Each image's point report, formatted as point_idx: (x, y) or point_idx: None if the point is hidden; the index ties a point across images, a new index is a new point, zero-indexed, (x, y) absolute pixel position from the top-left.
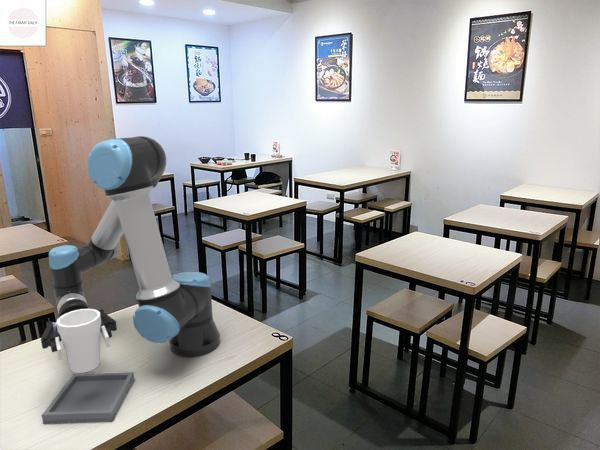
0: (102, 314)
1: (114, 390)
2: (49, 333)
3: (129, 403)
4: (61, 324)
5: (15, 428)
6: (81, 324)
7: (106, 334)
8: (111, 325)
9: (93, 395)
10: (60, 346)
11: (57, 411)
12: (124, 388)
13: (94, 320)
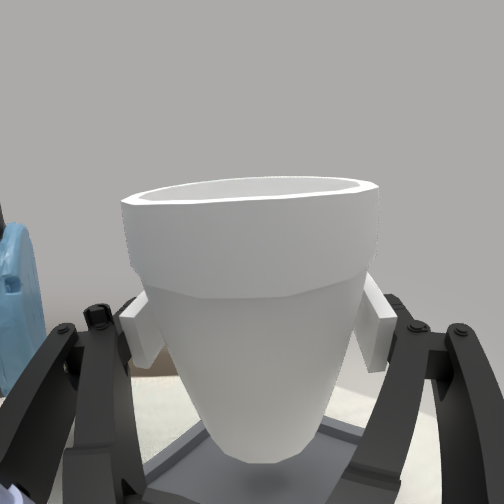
0: (4, 433)
1: (200, 471)
2: (461, 394)
3: (192, 425)
4: (340, 178)
5: (438, 453)
6: (255, 177)
7: None
8: (87, 332)
9: (257, 485)
10: None
11: None
12: (182, 435)
13: (199, 182)
